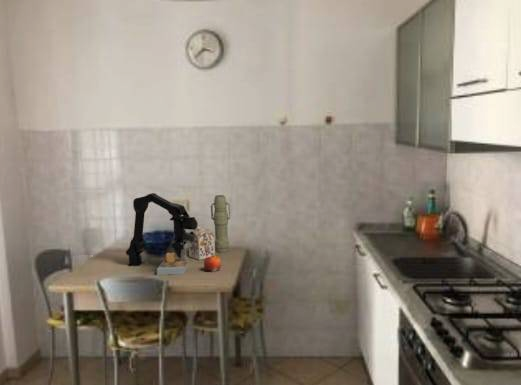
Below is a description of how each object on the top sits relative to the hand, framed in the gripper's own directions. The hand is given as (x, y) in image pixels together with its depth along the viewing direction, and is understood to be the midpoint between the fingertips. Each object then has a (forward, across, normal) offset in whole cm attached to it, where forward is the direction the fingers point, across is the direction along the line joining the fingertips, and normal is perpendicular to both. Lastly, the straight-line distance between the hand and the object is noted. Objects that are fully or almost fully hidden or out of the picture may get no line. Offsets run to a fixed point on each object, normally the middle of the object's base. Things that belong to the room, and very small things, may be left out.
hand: (180, 256), depth 269 cm
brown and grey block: (+4, 0, +3) cm, 5 cm away
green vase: (+8, +40, -20) cm, 45 cm away
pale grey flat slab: (+8, 0, +5) cm, 9 cm away
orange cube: (+2, 0, +5) cm, 6 cm away
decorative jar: (+8, +27, -8) cm, 29 cm away
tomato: (+8, -2, -17) cm, 19 cm away
